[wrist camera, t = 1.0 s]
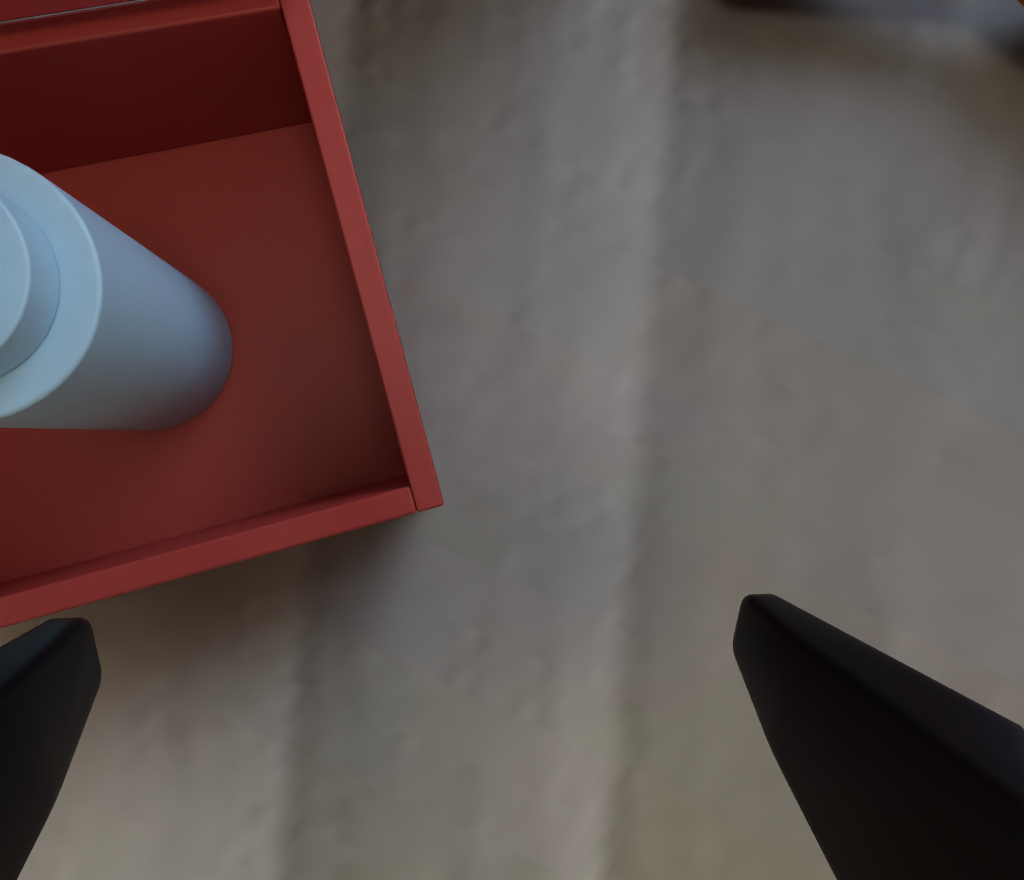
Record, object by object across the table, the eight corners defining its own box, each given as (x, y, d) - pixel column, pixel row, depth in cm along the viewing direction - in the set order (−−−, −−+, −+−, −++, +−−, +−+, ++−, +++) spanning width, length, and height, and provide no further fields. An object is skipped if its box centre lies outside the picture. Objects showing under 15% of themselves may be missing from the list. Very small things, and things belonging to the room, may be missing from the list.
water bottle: (208, 448, 21) (-69, 466, 9) (38, 405, 20) (-511, 361, 8) (252, 294, 21) (37, 109, 9) (85, 246, 21) (-386, -24, 8)
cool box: (436, 485, 23) (444, 505, 16) (-36, 614, 21) (-239, 694, 14) (335, 107, 22) (302, -26, 16) (-161, 200, 20) (-432, 89, 14)
